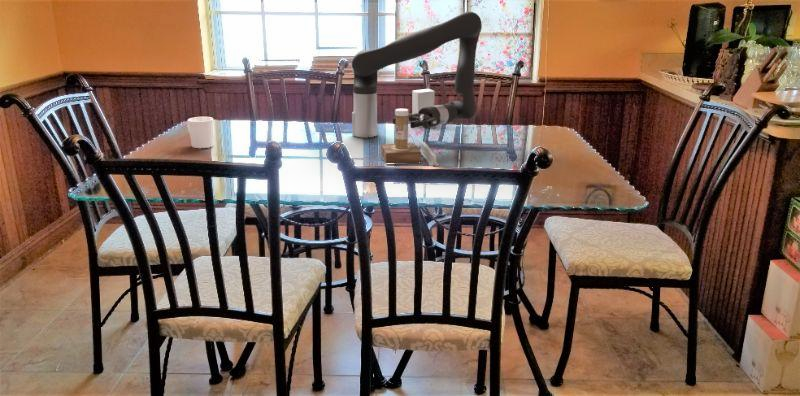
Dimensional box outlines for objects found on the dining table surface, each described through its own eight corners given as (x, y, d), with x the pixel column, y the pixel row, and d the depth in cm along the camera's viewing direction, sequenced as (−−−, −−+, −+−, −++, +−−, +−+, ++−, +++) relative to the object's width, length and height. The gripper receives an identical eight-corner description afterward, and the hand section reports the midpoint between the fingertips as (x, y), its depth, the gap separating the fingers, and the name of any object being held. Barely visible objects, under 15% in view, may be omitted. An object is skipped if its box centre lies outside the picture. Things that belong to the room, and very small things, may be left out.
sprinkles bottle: (392, 147, 220) (392, 109, 216) (400, 145, 223) (400, 107, 219) (402, 150, 217) (402, 111, 213) (410, 147, 221) (411, 109, 216)
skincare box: (428, 122, 278) (428, 88, 273) (434, 125, 273) (435, 90, 268) (411, 123, 275) (411, 89, 270) (417, 126, 270) (418, 91, 265)
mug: (220, 145, 238) (218, 118, 235) (204, 150, 230) (201, 122, 227) (197, 141, 242) (195, 115, 239) (181, 147, 235) (178, 119, 231)
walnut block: (381, 155, 226) (381, 143, 225) (414, 154, 228) (414, 142, 227) (386, 164, 215) (386, 152, 214) (420, 163, 217) (421, 151, 216)
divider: (418, 150, 233) (418, 141, 231) (426, 150, 233) (426, 141, 232) (430, 166, 214) (430, 156, 213) (438, 165, 214) (438, 155, 213)
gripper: (419, 103, 233) (387, 109, 222) (448, 108, 223) (417, 115, 212) (418, 123, 235) (387, 130, 224) (448, 129, 226) (417, 137, 215)
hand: (402, 123), depth 218 cm, fingers open, 8 cm apart
